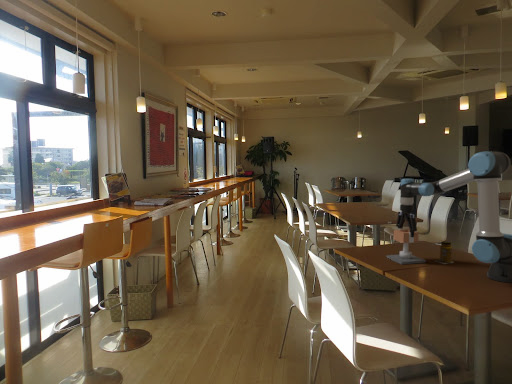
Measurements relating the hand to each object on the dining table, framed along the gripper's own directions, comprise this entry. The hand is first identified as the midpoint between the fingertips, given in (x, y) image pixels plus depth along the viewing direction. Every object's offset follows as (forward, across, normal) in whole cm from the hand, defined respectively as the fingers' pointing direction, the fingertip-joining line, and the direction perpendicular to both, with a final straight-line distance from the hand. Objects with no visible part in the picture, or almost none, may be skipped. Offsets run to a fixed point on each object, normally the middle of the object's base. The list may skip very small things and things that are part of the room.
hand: (405, 240), depth 227 cm
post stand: (+12, 0, 0) cm, 12 cm away
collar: (0, 0, 0) cm, 0 cm away
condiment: (+12, -9, -20) cm, 25 cm away
